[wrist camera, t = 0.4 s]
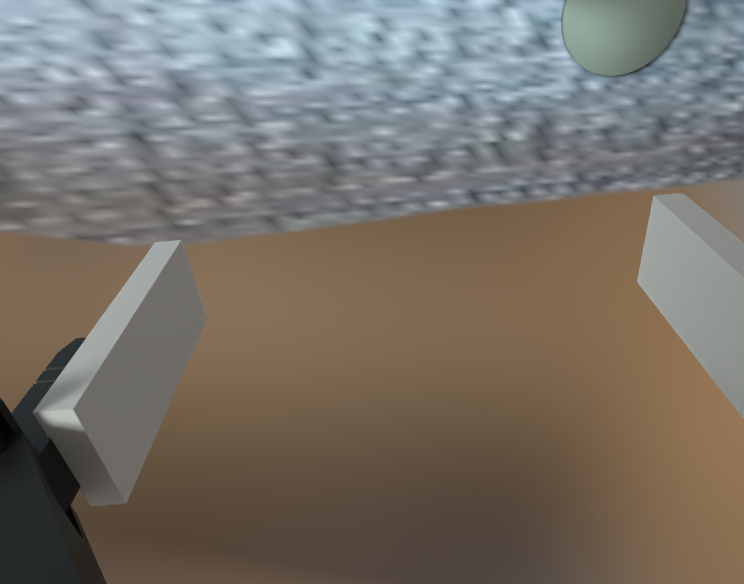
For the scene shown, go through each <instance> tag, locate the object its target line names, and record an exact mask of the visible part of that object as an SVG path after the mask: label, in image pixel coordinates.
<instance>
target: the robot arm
mask: <svg viewBox="0 0 744 584" xmlns="http://www.w3.org/2000/svg"><path fill="white" fill-rule="evenodd" d="M637 282H638V284H639V285H640V286H641V287H642V289H643V290H644V291H645V293H646V294H647V295H648V296H649V298H650V299H651V300H652V302H653V303H654V304H655V305H656V306H657V308H658V309H659V311H660V312H661V313H662V314H663V316H664V317H665V318H666V320H667V321H668V322H669V323H670V325H671V326H672V327H673V329H674V330H675V331H676V332H677V334H678V335H679V336H680V338H681V339H682V340H683V342H684V343H685V344H686V345H687V347H688V348H689V349H690V351H691V352H692V353H693V355H694V356H695V357H696V358H697V360H698V361H699V362H700V364H701V365H702V366H703V367H704V369H705V370H706V371H707V373H708V374H709V375H710V376H711V377H712V379H713V380H714V382H715V383H716V384H717V385H718V387H719V388H720V389H721V391H722V392H723V393H724V395H725V396H726V397H727V398H728V400H729V401H730V402H731V404H732V405H733V406H734V407H735V409H736V410H737V411H738V413H739V414H740V415H741V416H742V418H743V419H744V243H743V242H742V241H741V240H740V239H738V238H737V237H736V236H735V235H733V234H732V233H731V232H730V231H729V230H727V229H726V228H725V227H724V226H723V225H721V224H720V223H719V222H718V221H716V220H715V219H714V218H713V217H711V216H710V215H709V214H708V213H707V212H705V211H704V210H703V209H702V208H700V207H699V206H698V205H697V204H695V203H694V202H693V201H692V200H691V199H689V198H688V197H687V196H686V195H684V194H683V193H677V194H666V195H657V196H653V201H652V207H651V212H650V217H649V222H648V227H647V232H646V238H645V243H644V248H643V253H642V258H641V264H640V269H639V274H638V280H637ZM206 320H207V316H206V313H205V310H204V307H203V304H202V301H201V298H200V295H199V292H198V289H197V286H196V283H195V280H194V277H193V274H192V271H191V268H190V265H189V262H188V259H187V256H186V252H185V249H184V246H183V243H182V240H176V241H165V242H155V243H154V245H153V246H152V248H151V249H150V250H149V252H148V253H147V255H146V256H145V257H144V259H143V260H142V261H141V263H140V264H139V266H138V267H137V268H136V270H135V271H134V273H133V274H132V276H131V277H130V278H129V279H128V281H127V282H126V284H125V285H124V286H123V288H122V289H121V291H120V292H119V293H118V295H117V296H116V298H115V299H114V300H113V302H112V303H111V304H110V306H109V307H108V309H107V310H106V311H105V313H104V314H103V316H102V317H101V318H100V320H99V321H98V322H97V324H96V325H95V327H94V328H93V329H92V331H91V332H90V334H89V335H88V336H87V338H76V339H75V340H74V341H73V342H71V343H70V344H69V345H67V346H66V347H65V348H63V349H62V350H61V351H60V352H58V353H57V355H56V356H55V357H54V358H53V360H52V361H51V362H50V364H49V365H48V366H47V368H46V371H43V373H42V374H41V375H40V377H39V378H38V379H37V381H36V382H37V383H36V384H34V385H33V386H32V387H31V388H30V390H29V391H28V392H27V394H26V395H25V396H24V398H23V399H22V400H21V402H20V403H19V404H18V405H17V407H16V408H15V410H14V411H13V412H12V413H10V411H9V409H8V408H7V406H6V405H5V403H4V402H3V400H2V399H1V398H0V584H106V581H105V579H104V577H103V574H102V572H101V570H100V567H99V565H98V563H97V560H96V558H95V556H94V553H93V551H92V549H91V546H90V544H89V542H88V539H87V537H86V535H85V532H84V530H83V528H82V525H81V523H80V521H79V518H78V516H77V514H76V512H75V511H74V509H73V508H72V506H71V503H72V501H73V499H74V498H75V496H76V494H77V492H78V490H79V488H80V490H81V491H82V493H83V494H84V496H85V498H86V499H87V501H88V502H89V504H90V506H98V505H112V504H126V502H127V500H128V498H129V496H130V493H131V491H132V489H133V486H134V484H135V482H136V480H137V477H138V475H139V473H140V471H141V468H142V466H143V464H144V461H145V459H146V457H147V455H148V452H149V450H150V448H151V445H152V443H153V441H154V439H155V436H156V434H157V432H158V430H159V427H160V425H161V423H162V420H163V418H164V416H165V413H166V411H167V409H168V407H169V404H170V402H171V400H172V398H173V395H174V393H175V391H176V388H177V386H178V383H179V382H180V379H181V377H182V374H183V373H184V370H185V368H186V365H187V363H188V361H189V359H190V357H191V354H192V352H193V350H194V347H195V345H196V343H197V341H198V338H199V336H200V334H201V331H202V329H203V327H204V324H205V322H206Z"/></svg>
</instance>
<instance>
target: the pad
mask: <svg viewBox="0 0 744 584" xmlns="http://www.w3.org/2000/svg"><path fill="white" fill-rule="evenodd" d="M685 5H686V0H565V3H564V7H563V12H562V21H561V27H562V36H563V40H564V43H565V46H566V48H567V51H568V53H569V54H570V55H571V57H572V58H573V59H574V60H575V61H576V63H577V64H579V65H580V66H581V67H583V68H585V69H586V70H588V71H590V72H592V73H595V74H598V75H604V76H616V75H622V74H627V73H630V72H632V71H635V70H637V69H639V68H641V67H643V66H644V65H646V64H648V63H649V62H650V61H652V60H653V59H654V58H655V57H657V56H658V55H659V54H660V53H661V52H662V51H663V50H664V48H665V47H666V46H667V45H668V44H669V42H670V41H671V39H672V38H673V36H674V35H675V33H676V31H677V29H678V27H679V25H680V23H681V20H682V17H683V14H684V11H685Z"/></svg>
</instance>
